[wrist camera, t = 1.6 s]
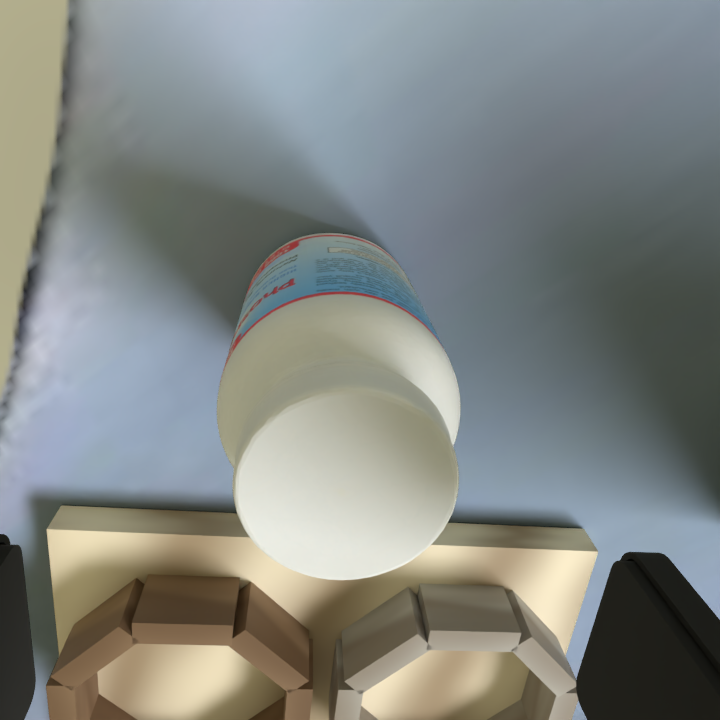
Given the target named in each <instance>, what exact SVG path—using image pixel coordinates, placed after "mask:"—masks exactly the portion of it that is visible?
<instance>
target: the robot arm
mask: <svg viewBox="0 0 720 720" xmlns="http://www.w3.org/2000/svg"><path fill="white" fill-rule="evenodd" d="M35 682H36V681H35V668H34V659H33V650H32V641H31V631H30V622H29V613H28V604H27V594H26V585H25V576H24V567H23V557H22V551H21V548H20V546H19V545H10V541H9V538H8V537H7V535H4V534H0V720H24V719H25V716H26V714H27V712H28V710H29V707H30V705H31V702H32V699H33V695H34V690H35ZM576 691H577V697H578V700H579V703H580V705H581V707H582V710H583V712H584V714H585V716H586V718H587V720H720V620H719V619H718V617H717V616H716V615H715V614H714V613H713V611H712V610H711V609H710V608H709V606H708V605H707V604H706V603H705V602H704V600H703V599H702V598H701V597H700V596H699V594H698V593H697V592H696V591H695V590H694V588H693V587H692V586H691V585H690V583H689V582H688V581H687V580H686V579H685V577H684V576H683V575H682V574H681V573H680V571H679V570H678V569H677V568H676V567H675V565H674V564H673V563H672V562H671V560H670V559H669V558H668V557H667V556H665V555H664V554H661V553H646V552H628V553H625V554H624V555H623V556H622V558H621V560H620V561H616V562H615V563H614V564H613V566H612V568H611V571H610V574H609V577H608V580H607V584H606V587H605V590H604V593H603V596H602V599H601V603H600V606H599V609H598V612H597V615H596V619H595V622H594V625H593V628H592V631H591V634H590V638H589V641H588V644H587V647H586V650H585V654H584V657H583V660H582V663H581V666H580V669H579V673H578V676H577V680H576Z"/></svg>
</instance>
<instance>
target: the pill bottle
mask: <svg viewBox="0 0 720 720" xmlns="http://www.w3.org/2000/svg"><path fill="white" fill-rule="evenodd" d="M459 421H460V394H459V388H458V383H457V379H456V376H455V373H454V370H453V368H452V365H451V363H450V360H449V358H448V356H447V354H446V352H445V350H444V348H443V346H442V344H441V342H440V340H439V338H438V336H437V334H436V332H435V330H434V328H433V326H432V324H431V322H430V320H429V318H428V316H427V314H426V313H425V311H424V309H423V306H422V305H421V303H420V301H419V299H418V297H417V295H416V293H415V291H414V289H413V287H412V285H411V283H410V281H409V279H408V277H407V276H406V274H405V273H404V271H403V270H402V268H401V267H400V265H399V264H398V263H397V262H396V260H395V259H394V258H393V257H392V256H391V255H390V254H388V253H387V252H386V251H385V250H383V249H382V248H381V247H379V246H378V245H376V244H374V243H372V242H370V241H368V240H365V239H363V238H359V237H356V236H352V235H347V234H339V233H319V234H312V235H307V236H303V237H300V238H297V239H294V240H292V241H290V242H288V243H286V244H284V245H283V246H281V247H279V248H278V249H277V250H276V251H274V252H273V253H272V254H271V255H270V256H269V257H268V258H267V259H266V260H265V261H264V262H263V263H262V264H261V266H260V267H259V268H258V270H257V272H256V273H255V275H254V277H253V279H252V281H251V283H250V285H249V288H248V291H247V294H246V297H245V300H244V303H243V307H242V311H241V314H240V317H239V320H238V324H237V327H236V330H235V334H234V337H233V340H232V343H231V347H230V349H229V353H228V357H227V360H226V363H225V367H224V370H223V374H222V377H221V381H220V387H219V392H218V400H217V422H218V429H219V435H220V438H221V442H222V445H223V448H224V450H225V452H226V455H227V457H228V459H229V461H230V463H231V464H232V466H233V468H234V475H233V498H234V503H235V507H236V511H237V514H238V517H239V519H240V521H241V523H242V525H243V528H244V530H245V531H246V533H247V534H248V535H249V537H250V538H251V540H252V541H253V542H254V543H255V544H256V546H257V547H258V548H260V549H261V550H262V551H263V552H264V553H265V554H266V555H268V556H269V557H270V558H271V559H273V560H274V561H276V562H278V563H279V564H281V565H283V566H285V567H287V568H289V569H291V570H293V571H296V572H299V573H302V574H304V575H308V576H311V577H316V578H321V579H328V580H355V579H362V578H368V577H373V576H377V575H380V574H383V573H386V572H389V571H391V570H394V569H397V568H399V567H401V566H403V565H405V564H406V563H408V562H410V561H411V560H413V559H414V558H416V557H417V556H418V555H420V554H421V553H422V552H424V551H425V550H426V549H427V548H428V547H429V546H430V545H431V544H432V543H433V542H434V541H435V540H436V539H437V537H438V536H439V535H440V534H441V532H442V531H443V530H444V528H445V526H446V524H447V523H448V521H449V519H450V517H451V515H452V513H453V510H454V507H455V502H456V499H457V495H458V486H459V472H458V463H457V458H456V454H455V451H454V448H453V445H454V443H455V440H456V437H457V432H458V428H459Z"/></svg>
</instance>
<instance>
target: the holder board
mask: <svg viewBox="0 0 720 720" xmlns="http://www.w3.org/2000/svg"><path fill="white" fill-rule="evenodd" d="M47 538H48V548H49V558H50V569H51V579H52V589H53V599H54V609H55V619H56V630H57V640H58V650H59V658H58V660H57V662H56V664H55V667H54V669H53V671H52V673H51V676H50V678H49V680H48V682H47V685H46V690H47V699H48V708H49V717H50V720H572V717H573V714H574V711H575V708H576V705H577V702H578V697H577V691H576V678H575V676H574V674H573V672H572V669H571V667H570V665H569V663H568V661H567V658H566V652H567V649H568V646H569V643H570V640H571V636H572V633H573V630H574V627H575V624H576V621H577V617H578V614H579V611H580V608H581V605H582V602H583V598H584V595H585V592H586V589H587V586H588V582H589V579H590V576H591V573H592V570H593V567H594V563H595V560H596V557H597V554H598V550H597V549H596V547H595V546H594V544H593V543H592V541H591V539H590V538H589V536H588V535H587V533H586V532H585V530H584V529H577V528H555V527H532V526H510V525H488V524H465V523H447V524H446V526H445V528H444V530H443V531H442V532H441V534H440V535H439V536H438V537H437V539H436V540H435V541H434V542H433V543H432V544H431V545H430V546H429V547H428V548H427V549H426V550H425V551H424V552H422V553H421V554H420V555H418V556H417V557H416V558H414V559H413V560H411V561H410V562H408V563H406V564H405V565H403V566H401V567H399V568H397V569H394V570H391V571H389V572H386V573H383V574H380V575H377V576H373V577H368V578H362V579H355V580H328V579H321V578H316V577H311V576H308V575H304V574H302V573H299V572H296V571H293V570H291V569H289V568H287V567H285V566H283V565H281V564H279V563H278V562H276V561H274V560H273V559H271V558H270V557H269V556H268V555H266V554H265V553H264V552H263V551H262V550H261V549H260V548H258V547H257V546H256V544H255V543H254V542H253V541H252V540H251V538H250V537H249V535H248V534H247V533H246V531H245V530H244V528H243V525H242V523H241V521H240V519H239V517H238V514H237V513H219V512H197V511H174V510H152V509H130V508H107V507H85V506H63V505H61V506H60V508H59V510H58V511H57V513H56V515H55V516H54V518H53V520H52V521H51V523H50V524H49V526H48V528H47Z"/></svg>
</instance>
